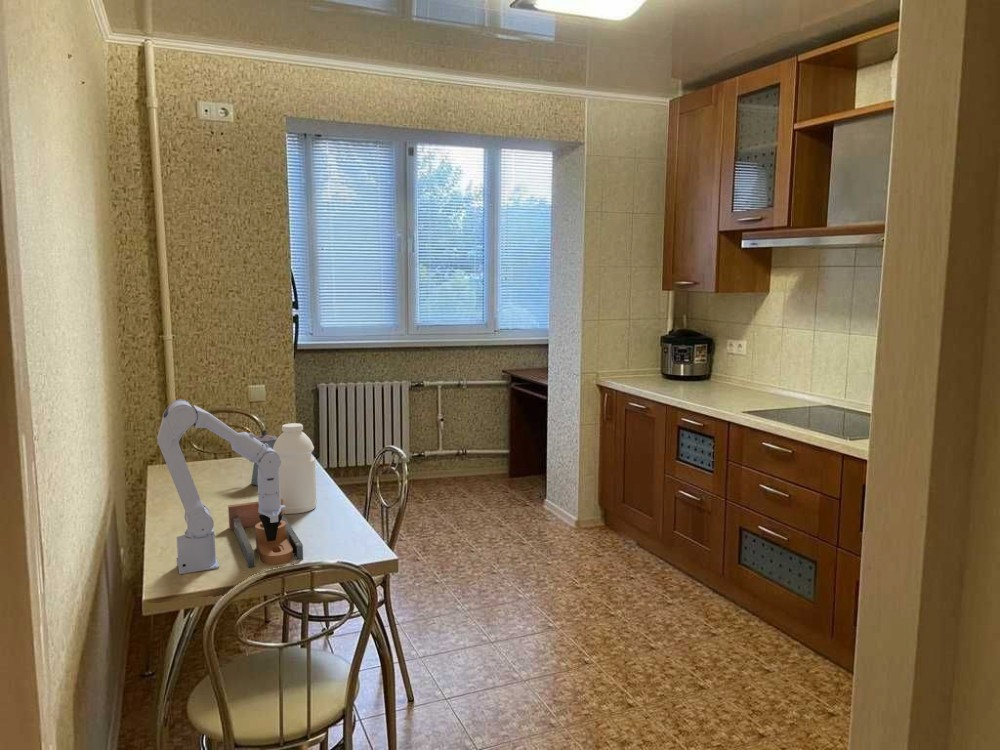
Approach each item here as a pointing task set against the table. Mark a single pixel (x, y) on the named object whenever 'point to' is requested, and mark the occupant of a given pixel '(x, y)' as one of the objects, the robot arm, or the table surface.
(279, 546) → the bracket
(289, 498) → the bottle
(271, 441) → the moka pot
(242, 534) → the receiver
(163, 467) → the table surface
